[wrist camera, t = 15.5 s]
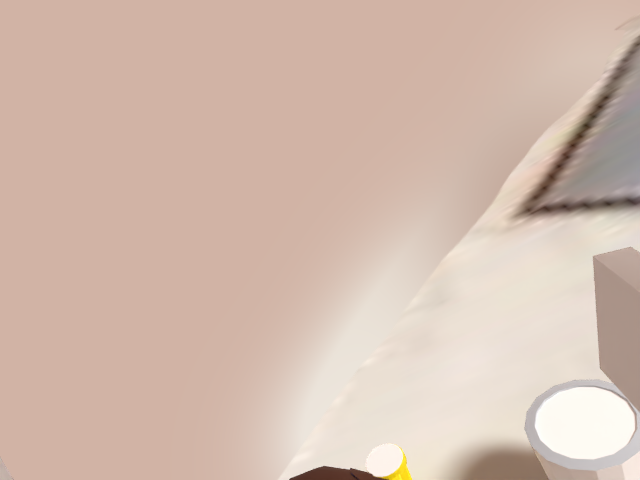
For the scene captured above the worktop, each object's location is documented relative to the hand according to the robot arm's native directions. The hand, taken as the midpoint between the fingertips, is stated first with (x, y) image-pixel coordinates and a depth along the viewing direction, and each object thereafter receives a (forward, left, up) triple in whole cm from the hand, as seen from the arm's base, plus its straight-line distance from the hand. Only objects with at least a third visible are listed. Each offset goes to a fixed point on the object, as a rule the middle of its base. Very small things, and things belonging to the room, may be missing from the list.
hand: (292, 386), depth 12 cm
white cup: (-17, +5, -28) cm, 33 cm away
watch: (-17, -8, -28) cm, 34 cm away
